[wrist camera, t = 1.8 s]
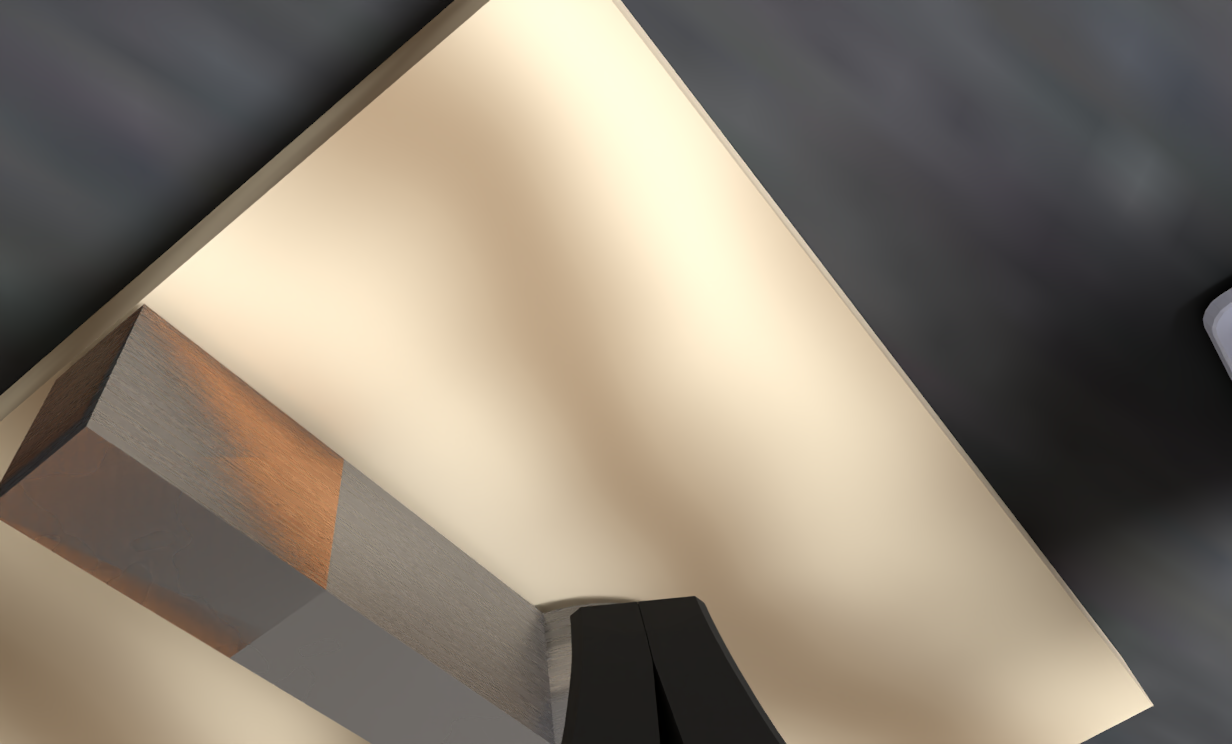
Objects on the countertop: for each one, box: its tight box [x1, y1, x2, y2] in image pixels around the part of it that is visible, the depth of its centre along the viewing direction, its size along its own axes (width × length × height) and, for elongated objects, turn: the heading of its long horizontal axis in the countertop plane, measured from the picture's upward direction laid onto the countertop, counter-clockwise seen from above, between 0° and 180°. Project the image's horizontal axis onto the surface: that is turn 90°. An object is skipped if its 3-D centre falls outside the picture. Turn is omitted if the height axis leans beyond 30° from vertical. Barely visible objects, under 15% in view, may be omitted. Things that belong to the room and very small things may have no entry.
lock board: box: [0, 0, 1153, 744], centre depth 23 cm, size 22×22×2 cm
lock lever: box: [0, 304, 618, 744], centre depth 19 cm, size 15×6×3 cm, turn 38°
